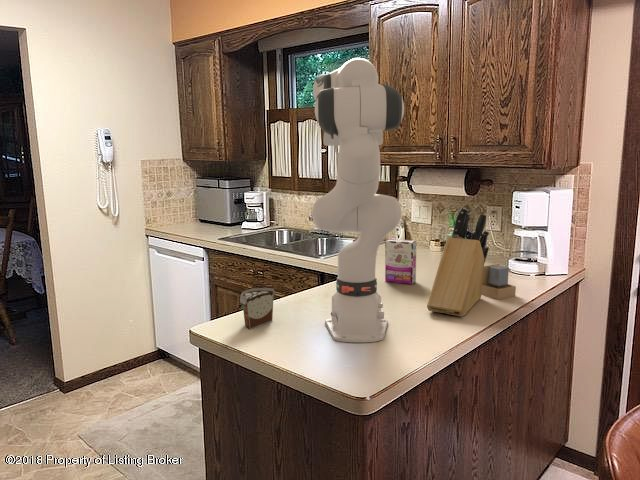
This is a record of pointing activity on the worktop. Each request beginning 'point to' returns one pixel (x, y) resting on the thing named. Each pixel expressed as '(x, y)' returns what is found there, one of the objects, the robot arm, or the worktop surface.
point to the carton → (495, 292)
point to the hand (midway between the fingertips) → (353, 159)
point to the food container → (257, 306)
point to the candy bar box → (400, 261)
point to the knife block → (460, 269)
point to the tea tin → (498, 277)
